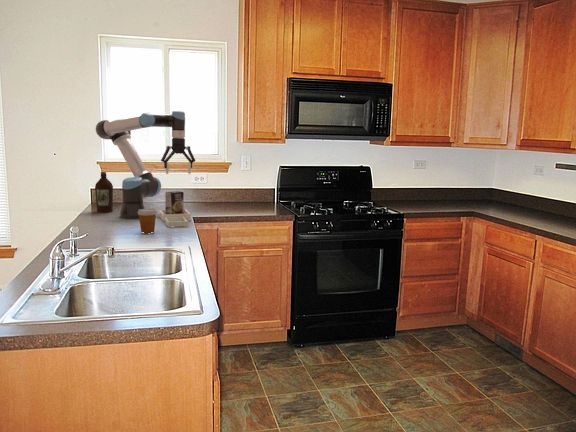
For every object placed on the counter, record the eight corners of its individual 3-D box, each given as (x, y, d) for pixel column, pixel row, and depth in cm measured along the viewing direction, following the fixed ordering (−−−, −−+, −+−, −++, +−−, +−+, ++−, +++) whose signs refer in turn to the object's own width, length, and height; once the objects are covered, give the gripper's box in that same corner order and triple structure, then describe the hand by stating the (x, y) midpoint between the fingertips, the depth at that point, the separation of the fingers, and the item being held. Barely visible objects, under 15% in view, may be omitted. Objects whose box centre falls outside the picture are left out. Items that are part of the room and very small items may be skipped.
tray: (167, 227, 270) (167, 222, 269) (164, 222, 283) (164, 217, 282) (188, 226, 274) (187, 221, 273) (184, 222, 286) (183, 216, 286)
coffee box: (172, 220, 291) (171, 192, 288) (165, 218, 295) (164, 191, 292) (184, 218, 298) (183, 191, 296) (177, 216, 302) (176, 190, 299)
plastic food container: (162, 221, 286) (162, 214, 285) (159, 216, 302) (159, 210, 301) (190, 220, 292) (190, 213, 291) (185, 215, 307) (185, 209, 307)
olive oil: (98, 210, 319) (96, 171, 315) (115, 210, 320) (113, 171, 316) (94, 212, 309) (92, 172, 304) (111, 212, 310) (110, 172, 306)
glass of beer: (150, 230, 262) (149, 207, 260) (161, 233, 256) (160, 210, 254) (134, 232, 254) (133, 209, 252) (145, 235, 249) (144, 212, 246)
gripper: (159, 137, 283) (159, 174, 287) (200, 138, 295) (200, 174, 299) (155, 137, 289) (155, 173, 293) (196, 138, 302) (196, 172, 306)
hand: (178, 173), depth 296 cm, fingers open, 13 cm apart
